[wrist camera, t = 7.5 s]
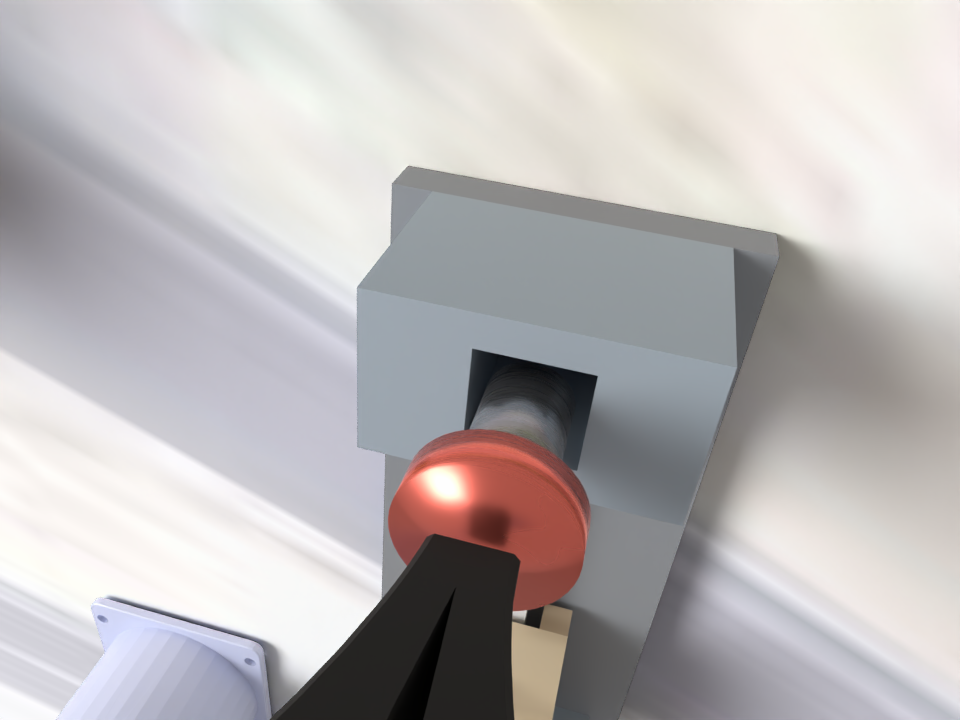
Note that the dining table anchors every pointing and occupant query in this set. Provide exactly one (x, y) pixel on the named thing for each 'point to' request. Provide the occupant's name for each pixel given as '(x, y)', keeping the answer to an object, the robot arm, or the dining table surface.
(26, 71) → the dining table surface
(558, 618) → the carriage
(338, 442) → the dining table surface
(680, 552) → the dining table surface
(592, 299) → the rail bench
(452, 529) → the gauge plunger
